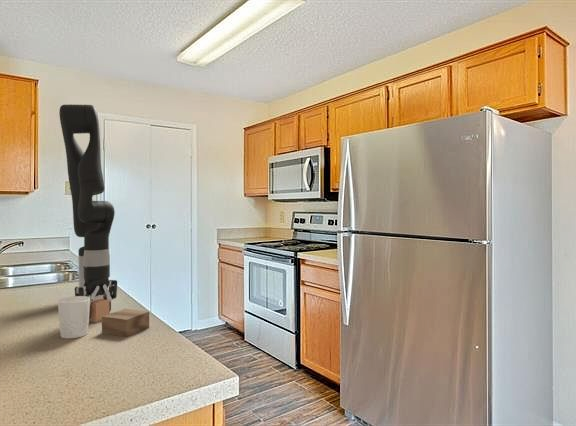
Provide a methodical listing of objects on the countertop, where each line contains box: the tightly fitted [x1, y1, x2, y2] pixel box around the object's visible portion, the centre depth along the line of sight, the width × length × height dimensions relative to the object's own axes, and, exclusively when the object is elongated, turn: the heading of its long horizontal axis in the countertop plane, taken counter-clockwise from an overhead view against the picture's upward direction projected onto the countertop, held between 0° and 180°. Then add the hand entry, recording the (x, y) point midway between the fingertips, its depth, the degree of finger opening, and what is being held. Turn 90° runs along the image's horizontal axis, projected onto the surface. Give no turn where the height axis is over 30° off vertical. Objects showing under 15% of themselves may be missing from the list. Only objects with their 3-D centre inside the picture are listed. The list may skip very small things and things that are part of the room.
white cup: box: [57, 295, 90, 340], centre depth 110 cm, size 8×8×10 cm
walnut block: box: [101, 308, 150, 338], centre depth 114 cm, size 9×9×5 cm
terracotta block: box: [89, 298, 111, 323], centre depth 125 cm, size 5×5×6 cm
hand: (97, 315), depth 125 cm, fingers open, 6 cm apart
